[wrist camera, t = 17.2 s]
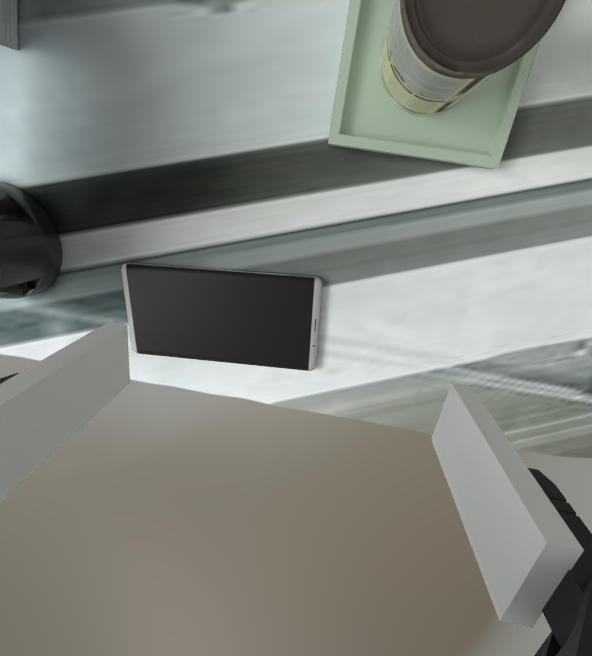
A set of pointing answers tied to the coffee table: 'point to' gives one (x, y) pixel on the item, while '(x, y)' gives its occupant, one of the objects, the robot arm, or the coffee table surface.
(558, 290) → the coffee table surface
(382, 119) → the tray
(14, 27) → the skincare box
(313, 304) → the smartphone
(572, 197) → the coffee table surface
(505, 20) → the coffee can
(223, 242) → the coffee table surface
